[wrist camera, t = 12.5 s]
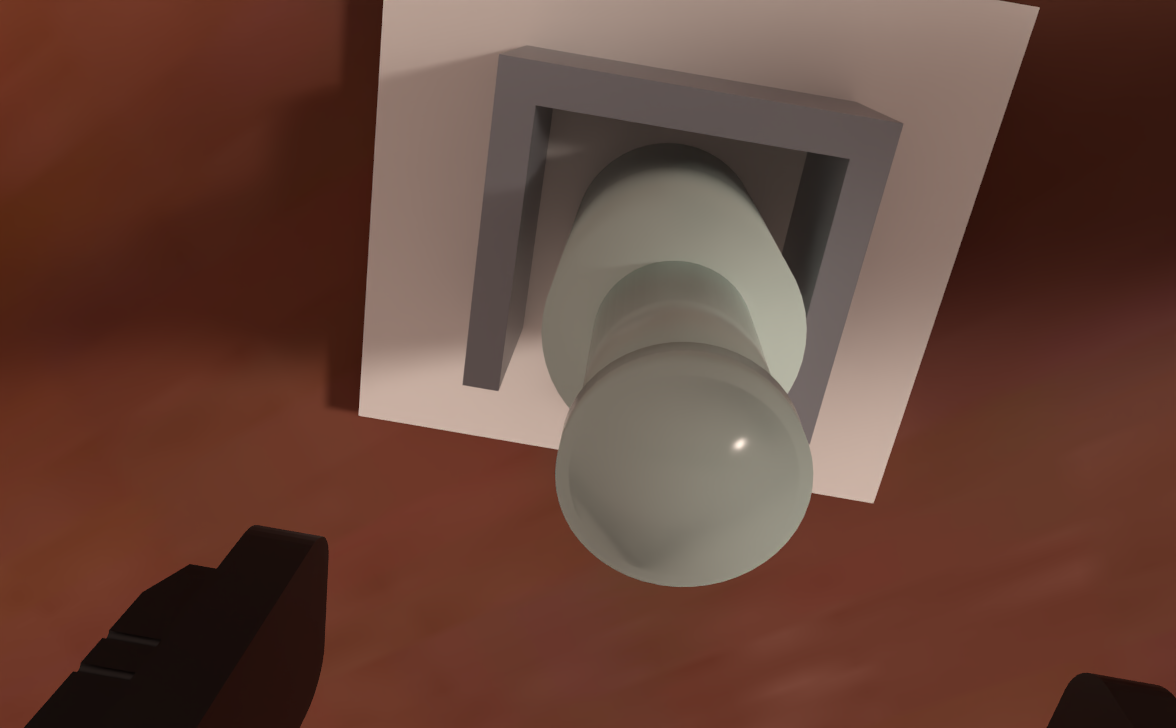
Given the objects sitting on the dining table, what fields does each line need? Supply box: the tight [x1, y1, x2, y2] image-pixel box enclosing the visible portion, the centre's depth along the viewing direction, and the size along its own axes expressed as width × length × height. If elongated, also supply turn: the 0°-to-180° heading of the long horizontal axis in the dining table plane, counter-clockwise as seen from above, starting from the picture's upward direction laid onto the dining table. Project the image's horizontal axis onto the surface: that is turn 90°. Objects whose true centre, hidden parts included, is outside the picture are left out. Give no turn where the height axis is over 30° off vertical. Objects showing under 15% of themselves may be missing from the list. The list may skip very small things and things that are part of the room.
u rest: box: [359, 0, 1040, 503], centre depth 25 cm, size 18×16×6 cm
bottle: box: [541, 143, 813, 587], centre depth 20 cm, size 6×6×15 cm
